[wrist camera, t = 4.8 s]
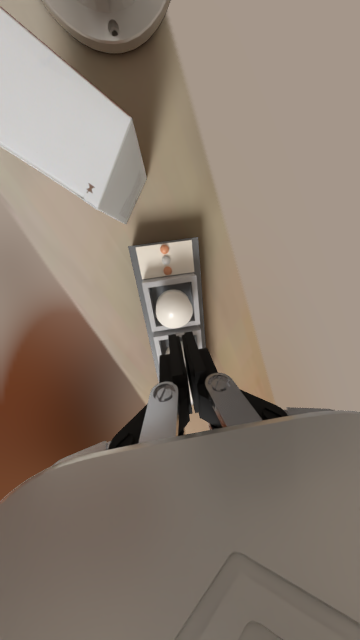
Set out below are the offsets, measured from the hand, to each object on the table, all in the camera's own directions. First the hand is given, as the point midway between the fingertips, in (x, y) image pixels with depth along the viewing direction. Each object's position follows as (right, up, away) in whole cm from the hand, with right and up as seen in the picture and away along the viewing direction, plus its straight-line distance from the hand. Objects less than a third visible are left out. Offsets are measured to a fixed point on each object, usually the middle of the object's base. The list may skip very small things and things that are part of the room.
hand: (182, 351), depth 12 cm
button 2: (-1, +4, +9) cm, 9 cm away
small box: (-9, +18, +7) cm, 21 cm away
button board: (-1, +1, +15) cm, 15 cm away
